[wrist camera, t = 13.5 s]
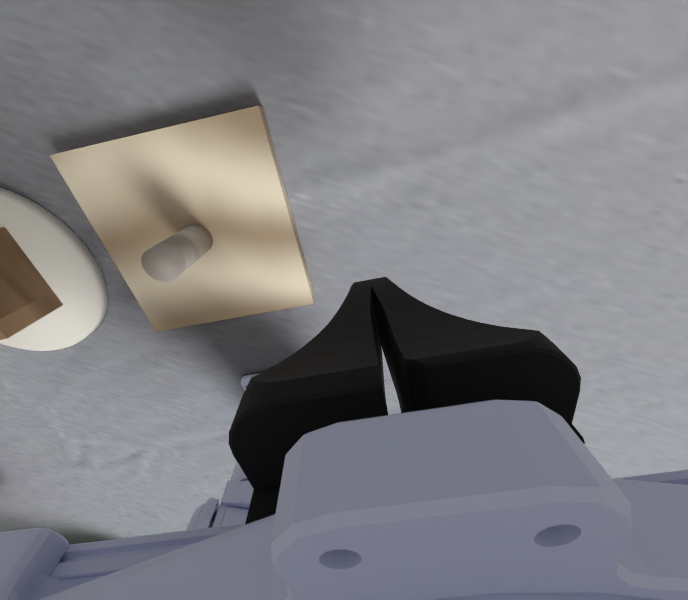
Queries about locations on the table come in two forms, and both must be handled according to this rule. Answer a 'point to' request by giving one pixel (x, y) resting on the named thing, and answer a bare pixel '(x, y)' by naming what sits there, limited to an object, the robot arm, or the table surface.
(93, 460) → the table surface
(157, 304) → the birch stand
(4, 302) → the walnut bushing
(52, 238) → the cream plate
